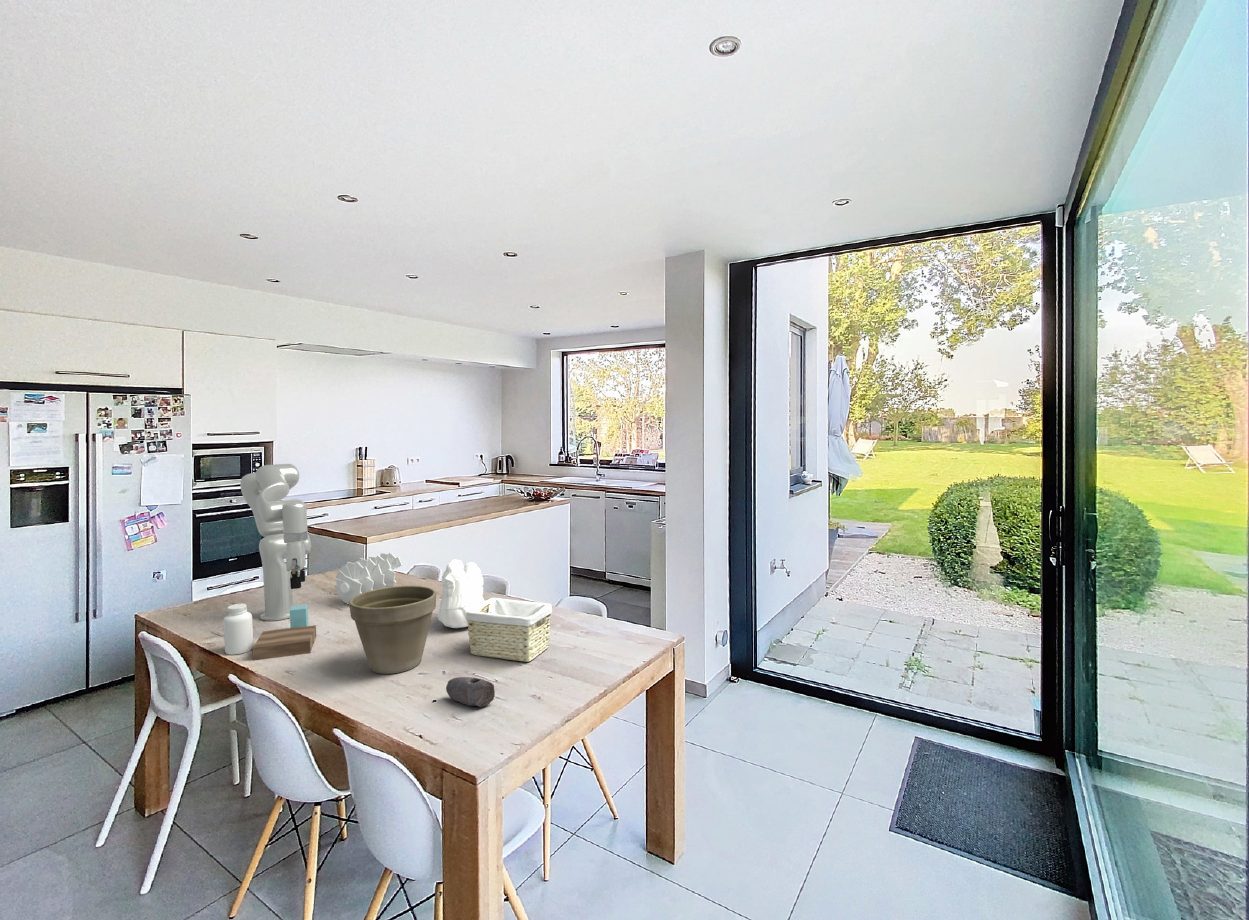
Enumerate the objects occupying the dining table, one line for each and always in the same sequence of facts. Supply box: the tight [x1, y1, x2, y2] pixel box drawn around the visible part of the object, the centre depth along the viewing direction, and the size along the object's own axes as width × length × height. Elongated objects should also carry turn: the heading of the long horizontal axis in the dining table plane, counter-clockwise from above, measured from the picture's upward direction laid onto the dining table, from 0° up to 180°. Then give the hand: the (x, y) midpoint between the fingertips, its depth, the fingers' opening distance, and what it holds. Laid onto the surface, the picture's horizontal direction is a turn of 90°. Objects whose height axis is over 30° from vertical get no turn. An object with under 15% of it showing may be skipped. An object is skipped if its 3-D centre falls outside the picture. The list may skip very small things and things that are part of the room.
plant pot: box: [348, 585, 437, 675], centre depth 184 cm, size 25×25×22 cm
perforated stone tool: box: [445, 676, 496, 708], centre depth 159 cm, size 15×5×7 cm, turn 62°
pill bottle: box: [222, 603, 254, 656], centre depth 196 cm, size 8×8×15 cm
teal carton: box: [289, 604, 310, 628], centre depth 213 cm, size 5×5×9 cm
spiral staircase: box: [334, 551, 403, 605], centre depth 253 cm, size 18×18×25 cm
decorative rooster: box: [437, 559, 485, 629], centre depth 222 cm, size 25×16×25 cm, turn 154°
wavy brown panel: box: [252, 625, 317, 661], centre depth 199 cm, size 16×16×4 cm
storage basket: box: [466, 597, 553, 663], centre depth 195 cm, size 24×16×15 cm
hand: (298, 585), depth 212 cm, fingers open, 9 cm apart
